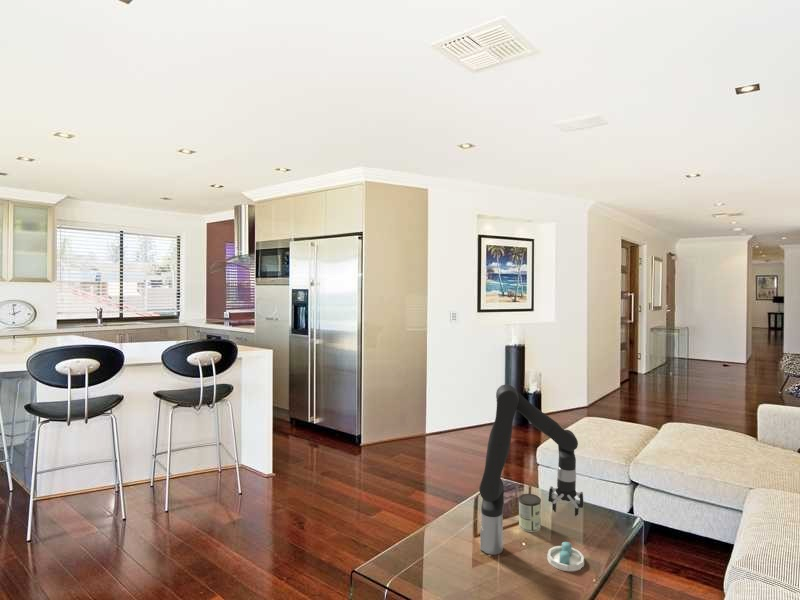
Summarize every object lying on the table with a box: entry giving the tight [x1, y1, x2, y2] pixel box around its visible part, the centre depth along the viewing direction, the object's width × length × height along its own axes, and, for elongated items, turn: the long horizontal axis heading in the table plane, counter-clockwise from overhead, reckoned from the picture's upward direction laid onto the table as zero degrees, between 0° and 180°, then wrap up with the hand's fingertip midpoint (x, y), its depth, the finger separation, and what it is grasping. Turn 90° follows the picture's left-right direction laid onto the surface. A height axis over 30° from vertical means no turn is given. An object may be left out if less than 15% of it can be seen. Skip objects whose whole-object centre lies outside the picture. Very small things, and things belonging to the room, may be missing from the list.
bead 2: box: [560, 551, 570, 565], centre depth 218 cm, size 4×4×4 cm
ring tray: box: [546, 545, 585, 572], centre depth 222 cm, size 15×15×2 cm
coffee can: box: [518, 493, 542, 533], centre depth 249 cm, size 10×10×14 cm
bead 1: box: [561, 541, 573, 556], centre depth 225 cm, size 4×4×4 cm
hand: (565, 513), depth 225 cm, fingers open, 8 cm apart
